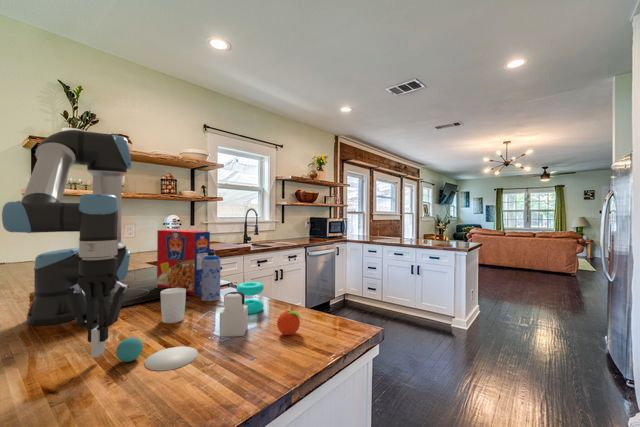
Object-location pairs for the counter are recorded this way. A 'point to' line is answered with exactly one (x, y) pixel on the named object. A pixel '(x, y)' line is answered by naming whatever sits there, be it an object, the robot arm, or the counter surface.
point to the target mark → (171, 358)
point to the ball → (129, 349)
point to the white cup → (173, 304)
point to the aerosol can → (210, 277)
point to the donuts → (251, 289)
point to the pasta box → (181, 259)
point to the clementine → (288, 322)
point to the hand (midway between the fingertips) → (97, 354)
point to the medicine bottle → (234, 315)
